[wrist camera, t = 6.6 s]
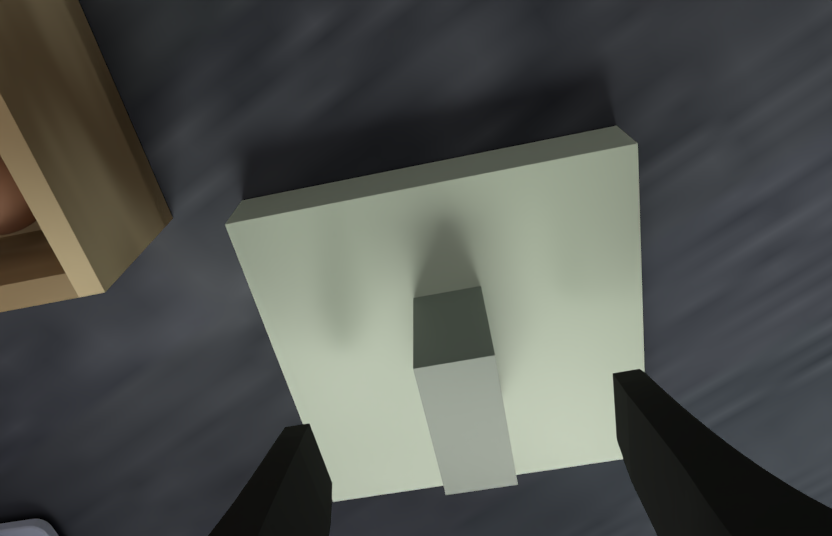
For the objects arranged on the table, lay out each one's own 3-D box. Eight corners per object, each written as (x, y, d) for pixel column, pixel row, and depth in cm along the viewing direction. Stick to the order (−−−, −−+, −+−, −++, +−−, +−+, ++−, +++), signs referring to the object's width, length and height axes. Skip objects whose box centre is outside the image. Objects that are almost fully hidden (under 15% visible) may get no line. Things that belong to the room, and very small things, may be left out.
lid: (630, 419, 20) (686, 541, 15) (338, 463, 20) (320, 590, 16) (616, 125, 15) (692, 189, 11) (241, 200, 16) (182, 284, 12)
